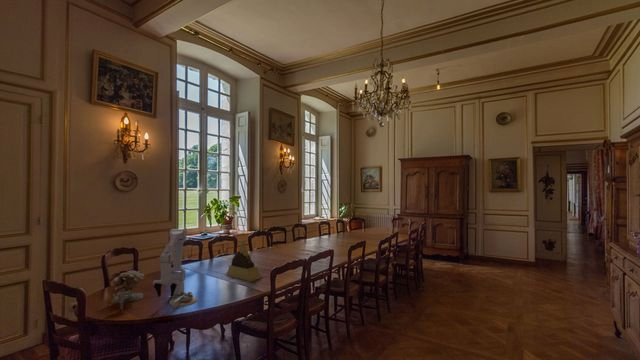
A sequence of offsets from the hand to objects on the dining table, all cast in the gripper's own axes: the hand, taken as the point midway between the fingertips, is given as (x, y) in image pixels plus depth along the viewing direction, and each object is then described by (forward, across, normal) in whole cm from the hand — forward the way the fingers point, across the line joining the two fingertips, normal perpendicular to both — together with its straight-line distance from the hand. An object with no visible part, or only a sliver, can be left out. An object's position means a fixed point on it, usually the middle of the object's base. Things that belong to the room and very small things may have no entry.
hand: (165, 296), depth 196 cm
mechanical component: (+7, -24, -4) cm, 25 cm away
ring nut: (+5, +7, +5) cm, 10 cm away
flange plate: (+6, +7, +9) cm, 13 cm away
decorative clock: (+7, +33, +65) cm, 74 cm away
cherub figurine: (+7, -31, +16) cm, 36 cm away
